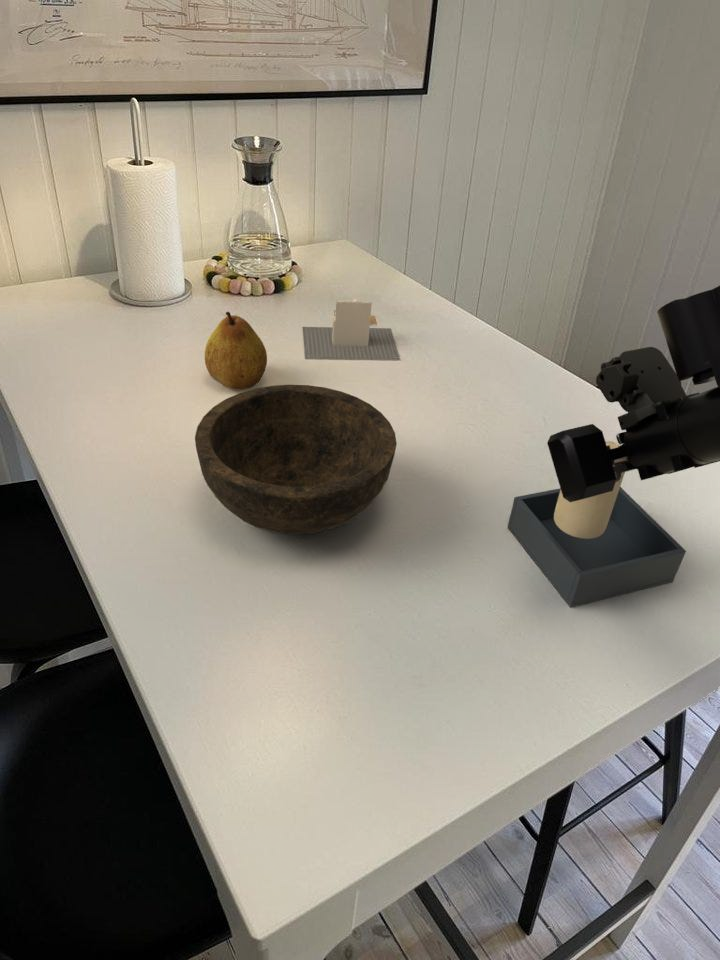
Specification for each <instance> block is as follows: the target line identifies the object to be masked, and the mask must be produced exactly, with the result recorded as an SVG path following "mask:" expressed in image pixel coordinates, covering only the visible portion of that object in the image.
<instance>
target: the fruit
mask: <svg viewBox="0 0 720 960" xmlns="http://www.w3.org/2000/svg"><path fill="white" fill-rule="evenodd" d="M205 344H206V346H205V350H204V364H205V367H206V370H207V372H208V373H209V375H210V377H211V378H212V379H214V381H216V382H218V383H220V384H222V385H223V386H224V387H226V388H227V389H231V390H238V391H239V390H245V389H250V388H253V387H255V386H256V385H257V384H259V382H260V381H262V378H263V376H264V375H265V372H266V369H267V364H268V354H267V349H266V348H265V347H266V346H265V344H264V342H263V341H262V339H261V338H260V336H259V335H258V334H257V333H256V331H255V330H254V328H253V327H252V326H251V324H250V323H249V322H248V321H247V320H246V319H244V318H243V317H241V316H238V315H231V312H230V311H226V312H225V317H224V318H223V319H222V320H220V321H219V323H218V324H217V326H216V327H215V329H214V330H213V331H212V332H211V334H210V336H209V338H208V340H207V341H206V343H205Z"/></svg>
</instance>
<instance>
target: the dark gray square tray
mask: <svg viewBox="0 0 720 960" xmlns="http://www.w3.org/2000/svg"><path fill="white" fill-rule="evenodd" d="M560 490H561V488H560V487H559V488H555V489H549V490H545V491H539V492H534V493H529V494H523V495H518V496H514V499H513V502H512V507H511V510H510V515H509V519H508V523H507V529H508V530H509V532H510V533H511V534H512V536H513V537H514V538H515V539H516V540H517V541H518V543H519V544H520V546H521V547H522V549H524V550H525V552H526V553H527V554H528V556H529V557H530V559H531V560H532V561H533V563H535V565H536V566H537V568H538V569H539V570H540V571H541V572H542V574H543V575H544V577H546V579H547V580H548V581H549V582H550V584H551V585H552V587H553V588H554V589H555V590H556V591H557V593H558V594H559V595H560V597H561V598H562V599H563V601H564V602H565V603H566V605H567V606H568V607H569V608H574V607H578V606H582V605H586V604H590V603H594V602H598V601H602V600H606V599H611V598H614V597H618V596H623V595H626V594H629V593H634V592H639V591H642V590H645V589H646V590H647V589H651V588H654V587H659V586H663V585H666V584H670V583H673V582H674V580H675V577H676V575H677V573H678V571H679V569H680V566H681V564H682V562H683V560H684V558H685V556H686V553H687V551H686V550H685V548H684V547H682V546H681V544H680V543H679V542H677V540H676V539H674V538H673V537H672V536H671V535H670V534H669V533H668V532H667V531H666V530H665V529H664V528H663V527H662V525H660V524H659V523H658V522H657V521H656V520H655V519H654V518H653V517H652V516H651V515H650V514H649V513H648V512H647V511H646V510H645V509H644V508H643V507H642V506H641V505H640V504H639V503H637V501H636V500H635V499H634V498H632V496H631V495H630V494H628V493H627V492H626V491H625V489H623V487H621V486H620V489H619V492H618V495H617V498H616V501H615V504H614V507H613V510H612V513H611V516H610V519H609V522H608V524H607V527H606V529H605V531H604V533H603V534H602V535H600V536H599V537H596V538H591V539H583V538H577V537H574V536H571V535H569V534H567V533H565V532H564V531H562V530H561V529H560V528H559V527H558V526H557V525H556V523H555V521H554V512H555V508H556V504H557V501H558V497H559V493H560Z"/></svg>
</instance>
